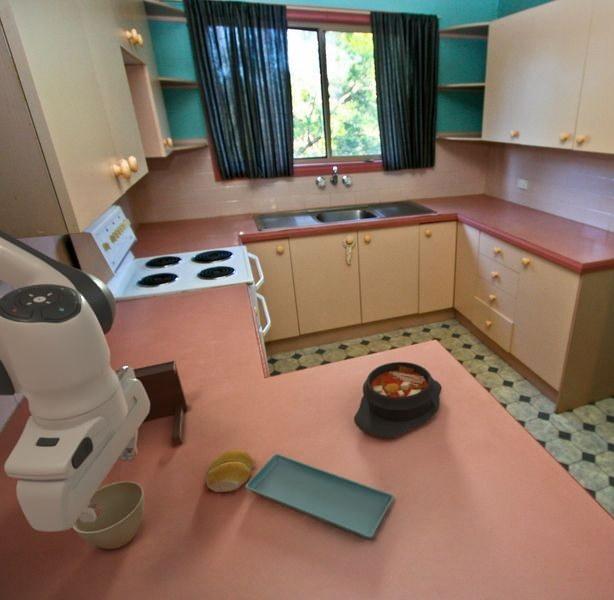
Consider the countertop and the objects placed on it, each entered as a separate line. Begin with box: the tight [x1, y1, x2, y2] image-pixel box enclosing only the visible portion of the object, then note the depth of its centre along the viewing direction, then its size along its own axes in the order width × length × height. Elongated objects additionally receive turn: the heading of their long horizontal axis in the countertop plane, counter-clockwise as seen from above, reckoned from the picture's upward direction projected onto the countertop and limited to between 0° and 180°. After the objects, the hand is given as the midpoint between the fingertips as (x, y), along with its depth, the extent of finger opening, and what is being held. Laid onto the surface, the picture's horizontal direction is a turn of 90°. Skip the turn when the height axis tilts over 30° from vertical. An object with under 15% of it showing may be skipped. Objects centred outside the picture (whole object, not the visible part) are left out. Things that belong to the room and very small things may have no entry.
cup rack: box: [132, 360, 189, 447], centre depth 92 cm, size 14×19×13 cm
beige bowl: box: [71, 480, 145, 550], centre depth 70 cm, size 10×10×7 cm
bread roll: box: [205, 449, 254, 493], centre depth 82 cm, size 8×9×4 cm
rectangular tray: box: [244, 453, 395, 540], centre depth 77 cm, size 26×9×2 cm, turn 66°
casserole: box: [353, 361, 442, 439], centre depth 99 cm, size 25×19×8 cm
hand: (112, 485), depth 59 cm, fingers open, 8 cm apart
